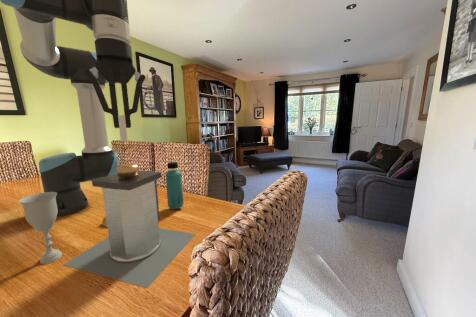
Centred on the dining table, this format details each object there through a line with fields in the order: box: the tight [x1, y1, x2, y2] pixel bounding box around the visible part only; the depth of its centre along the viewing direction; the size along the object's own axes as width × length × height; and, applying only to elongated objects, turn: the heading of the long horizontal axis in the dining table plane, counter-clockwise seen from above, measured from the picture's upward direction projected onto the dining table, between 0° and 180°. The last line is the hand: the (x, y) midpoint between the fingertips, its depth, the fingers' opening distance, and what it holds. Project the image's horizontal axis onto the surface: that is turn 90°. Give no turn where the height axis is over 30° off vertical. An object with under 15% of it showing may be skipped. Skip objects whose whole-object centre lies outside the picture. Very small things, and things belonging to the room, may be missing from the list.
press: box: [91, 170, 162, 263], centre depth 58 cm, size 13×16×22 cm
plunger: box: [117, 163, 139, 178], centre depth 56 cm, size 9×9×23 cm
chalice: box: [18, 191, 63, 265], centre depth 53 cm, size 7×7×18 cm
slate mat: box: [63, 227, 197, 289], centre depth 58 cm, size 26×22×1 cm
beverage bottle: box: [164, 161, 185, 209], centre depth 83 cm, size 6×7×20 cm
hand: (124, 140), depth 53 cm, fingers closed
